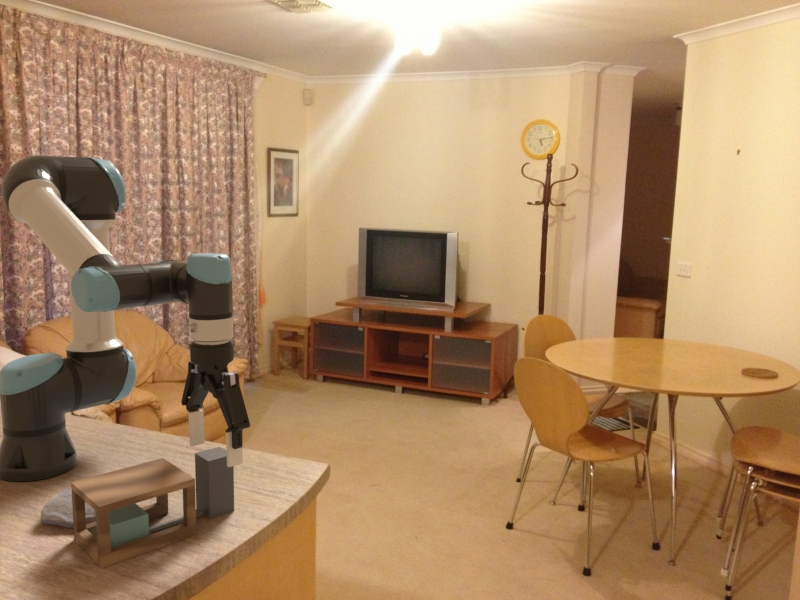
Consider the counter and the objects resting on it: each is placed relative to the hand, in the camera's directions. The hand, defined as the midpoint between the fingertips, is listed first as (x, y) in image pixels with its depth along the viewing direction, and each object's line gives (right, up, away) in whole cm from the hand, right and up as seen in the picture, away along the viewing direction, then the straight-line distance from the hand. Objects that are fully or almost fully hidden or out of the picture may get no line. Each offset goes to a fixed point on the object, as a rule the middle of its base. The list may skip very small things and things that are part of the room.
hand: (215, 454), depth 126 cm
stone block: (-24, -11, -2) cm, 27 cm away
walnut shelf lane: (-11, -12, -8) cm, 19 cm away
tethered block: (-7, -12, -4) cm, 14 cm away
